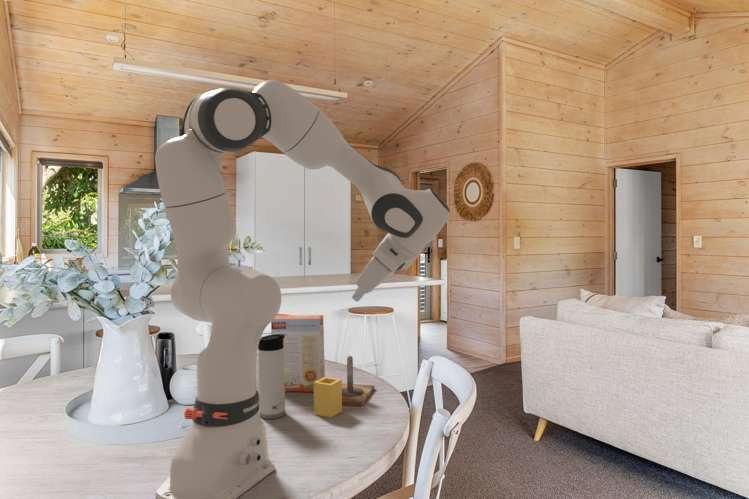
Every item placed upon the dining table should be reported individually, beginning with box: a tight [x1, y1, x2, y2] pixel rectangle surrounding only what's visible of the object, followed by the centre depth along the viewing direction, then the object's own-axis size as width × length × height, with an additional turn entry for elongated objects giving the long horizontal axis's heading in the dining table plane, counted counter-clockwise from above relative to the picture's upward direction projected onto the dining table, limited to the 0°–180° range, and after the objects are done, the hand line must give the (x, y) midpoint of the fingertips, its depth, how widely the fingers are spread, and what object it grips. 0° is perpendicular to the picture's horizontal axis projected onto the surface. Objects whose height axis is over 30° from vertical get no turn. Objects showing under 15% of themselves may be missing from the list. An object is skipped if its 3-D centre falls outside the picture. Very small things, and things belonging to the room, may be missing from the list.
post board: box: [342, 355, 375, 407], centre depth 142 cm, size 14×10×11 cm
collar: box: [313, 376, 343, 419], centre depth 130 cm, size 5×5×8 cm
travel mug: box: [257, 334, 286, 420], centre depth 129 cm, size 6×7×20 cm
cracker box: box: [270, 314, 326, 393], centre depth 148 cm, size 14×6×21 cm, turn 84°
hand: (361, 294), depth 125 cm, fingers open, 8 cm apart
